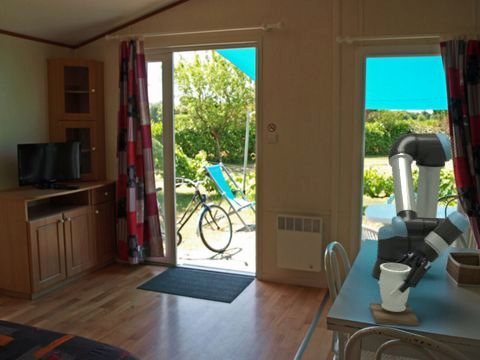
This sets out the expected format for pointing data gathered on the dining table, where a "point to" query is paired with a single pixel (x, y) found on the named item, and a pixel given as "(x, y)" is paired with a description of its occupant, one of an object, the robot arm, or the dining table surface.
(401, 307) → the jar
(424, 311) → the dining table surface
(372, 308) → the walnut stand
